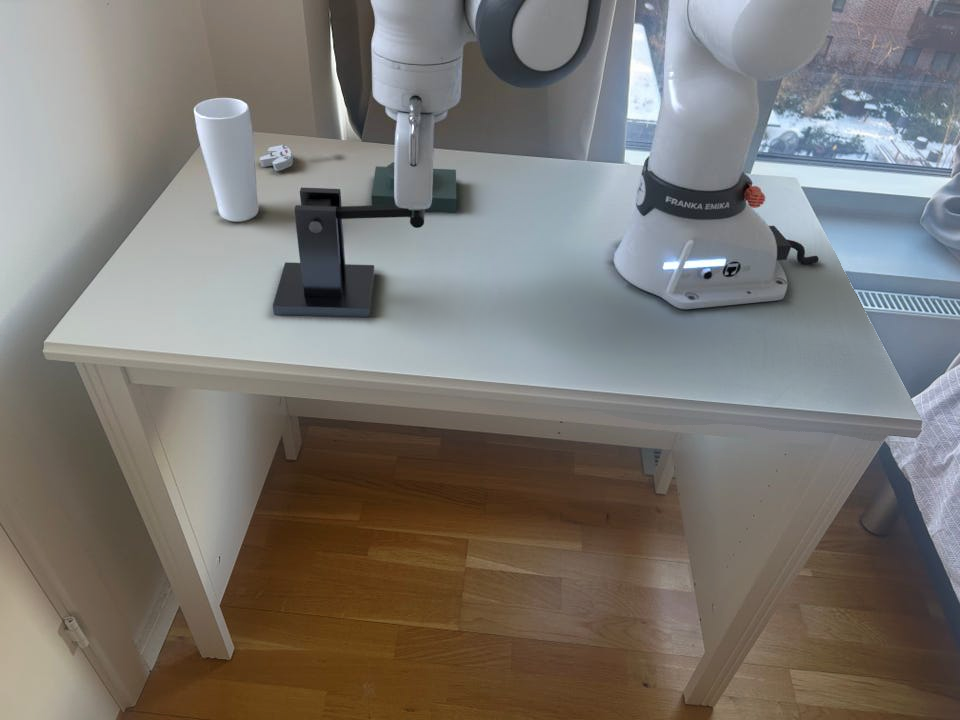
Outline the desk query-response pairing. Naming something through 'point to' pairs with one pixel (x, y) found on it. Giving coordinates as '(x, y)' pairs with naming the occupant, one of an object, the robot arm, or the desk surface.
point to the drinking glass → (229, 155)
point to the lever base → (322, 266)
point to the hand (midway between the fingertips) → (415, 203)
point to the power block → (441, 190)
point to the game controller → (278, 157)
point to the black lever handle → (372, 211)
